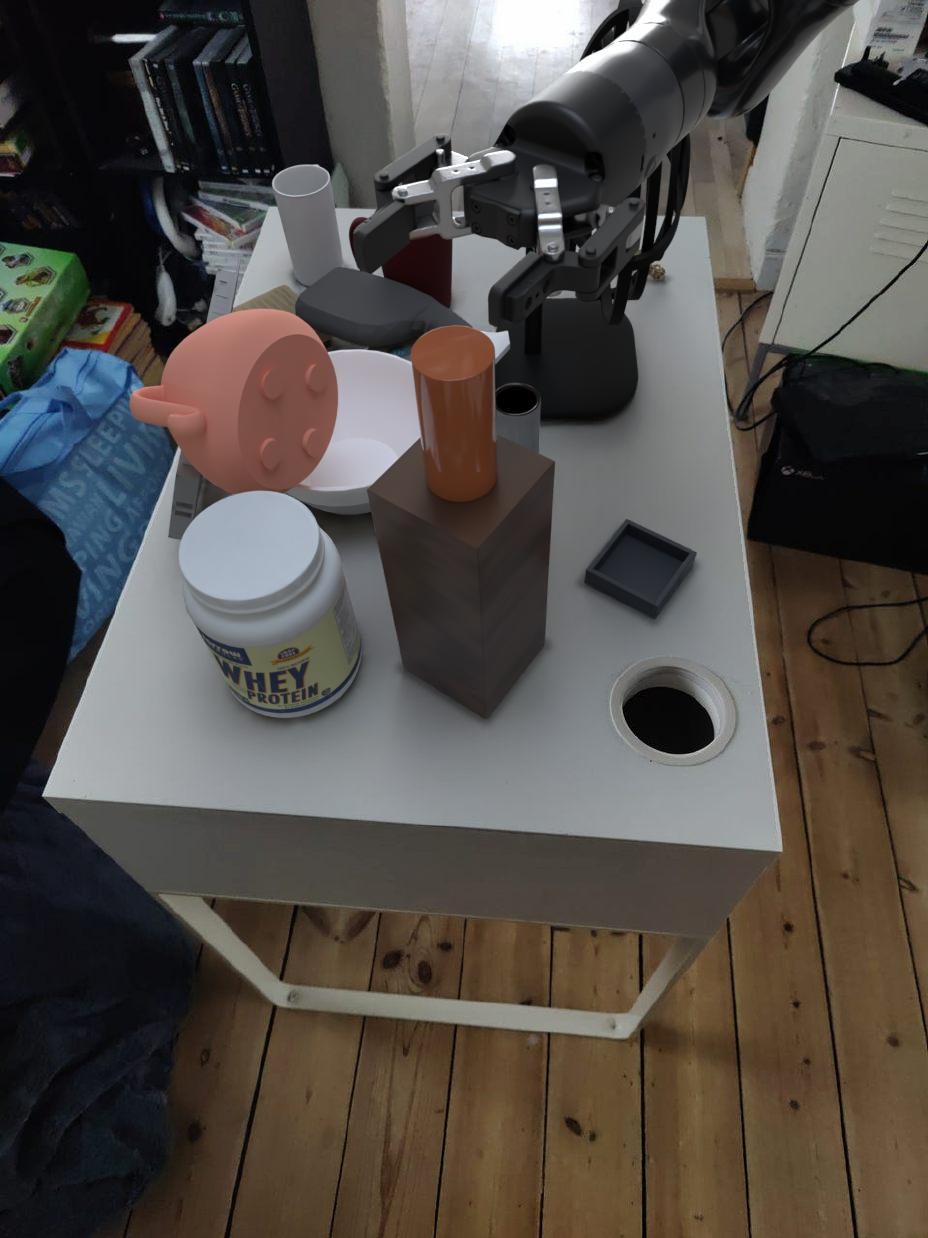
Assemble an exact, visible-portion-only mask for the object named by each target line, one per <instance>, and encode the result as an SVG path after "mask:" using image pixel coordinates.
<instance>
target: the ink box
mask: <svg viewBox="0 0 928 1238" xmlns="http://www.w3.org/2000/svg"><path fill="white" fill-rule="evenodd" d="M298 297H299V295H298V294H297V293H296V292H295V291H293V290H292V288H290V287H289V286H288V285H286V284H281V285H279V286H277V287H274V288H272V289H271V290H268V291H267V292H264V293H262V294H259V295H257V296H255V297H253V298H251V299H249V300H247V301H245V302H243V303H240V304H239V305H236V306H233V311H232V313H233V312H236V311H243V310H250V309H275V310H281V311H286V312H289V313H292V314H294V315H296V314H295V303H296V301H297V299H298ZM312 329H313V328H312ZM313 330H314V331H315V332H316V334H317V335H318V337H319V338H320V340H321V341H322V343H323V345H324V346H325V348H326V350H327V351H329V350H331V349H334V347H335V343H334V337H333V336H331V335H328V334H325V333H323V332H320V331H318V330H315V329H313Z"/></svg>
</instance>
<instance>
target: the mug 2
mask: <svg viewBox="0 0 928 1238" xmlns="http://www.w3.org/2000/svg"><path fill="white" fill-rule="evenodd" d="M377 211H378V209H377V208H376V209H375V211H374V213H375V212H377ZM433 211H434V200H431V201H426V202H424V203H423V204H422V205H420V206H419V207H417V208H416V217H421V216H425V215H430V214H432V213H433ZM374 213H373V214H374ZM366 219H369V217H365V216H358V217H356V218H354V219H353V220H352V222H351V223H350V226H349V229H348V242H349V246H350V250H351V253H352V254H351V255H352V257H353V258H354V261H355V262H354V263H356V258H355V252H354V246H353V232H354V230H355V228H356V227H357V226H359V225H360V224H361V223H362V222H363V223H364V221H365V220H366ZM453 239H454V238H453ZM453 239H448V240H447V239H443V238H442V237H441V235H440V234H433V235H428V236H423V237H419V238H414V239H410V243H409V244H408V245H407V246H405V247H404V248H403V249H402V250H401V251H399V252H398V253H397V254H396V255H394V256H393V257H392V258H391V259H390V260H388V261H387V262H386V263H385V264H383V265H382V266H381V267H380V268H381V271H382V277H385V278H388V279H391V280H393V281H396V282H399V283H402V284H405V285H407V286H410V287H412V288H414V289H416V290H418V291H420V292H423V293H425V294H427V295H429V296H431V297H433V298H434V299H435V300H436V301H438V302H439V303H440V304H442V305H443V306H445V307H447V308H448V309H449V308H450V306H451V304H452V286H453V285H452V284H453V243H454V242H453ZM358 270H359V271H362V270H360V269H358ZM363 272H365V271H363ZM366 273H367V272H366Z"/></svg>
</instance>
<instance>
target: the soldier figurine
mask: <svg viewBox="0 0 928 1238" xmlns="http://www.w3.org/2000/svg"><path fill="white" fill-rule="evenodd" d="M640 246H641V247H642V245H640ZM641 247H640V248H639V250H638V251H637V252H636V253H635V255H639V254H641ZM661 265H662V264H661V263H655V264H654V263H652V264H650V268H649V273H648V277H651V278H652V279H653V280H654V281H658V280H660V279H661V280H662V281H665V280H666V273H667V272H666V269H664V267H662V266H661ZM636 271H637V270H635V271H632V275H633V274H634V273H635V272H636Z"/></svg>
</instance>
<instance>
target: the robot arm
mask: <svg viewBox="0 0 928 1238" xmlns="http://www.w3.org/2000/svg"><path fill="white" fill-rule="evenodd" d="M859 1H861V0H644V2H643V6H642V8H641V11H640V13H639V15H638V17H637V19H636V21H635V22H634V24H633V25H632V26H631V27H630V28H629V27H628V28H627V29H626V31H625V32H624V33H623V34H622V35H620V36H619V37H618V38H616V39H615V40H614V41H613V42H611V43H610V44H609V45H607V46H606V47H605V48H604V49H602V50H600V51H598V52H595V53H592V54H591V55H589V56H587V57H585V58H584V59H582V60H581V61H580V60H579V61H580V62H579V61H578V62H576V63H575V64H574V65H573V66H571V67H570V68H569V69H567V70H566V71H564V73H562V74H561V75H560V76H559V77H557V78H556V79H554V80H552V82H550V83H549V84H548V85H546V86H545V87H544V88H543V89H542V90H540V91H539V92H537V94H535V95H533V97H531V98H530V99H528V100H527V101H526V102H525V103H524V104H522V105H521V106H520V107H518V108H517V109H516V110H515V111H514V112H513V113H512V114H511V115H510V116H509V118H508V119H507V121H506V122H505V124H504V126H503V128H502V130H501V131H500V134H499V135H498V137H497V138H496V141H495V142H494V143H493V145H492V146H490V147H489V148H487V149H484V150H481V151H477V152H474V153H472V154H471V155H469V156H465V155H463V154H460V153H458V152H456V151H453V150H452V148H453V147H452V137H451V135H449V134H448V133H436V134H433V135H431V136H430V137H428V138H427V139H426V140H424V141H423V142H421V143H419V144H418V145H416V146H415V147H413V148H412V149H410V150H409V151H408V152H406V153H404V154H403V155H401V156H400V157H398V158H396V159H395V160H394V161H392V162H391V163H389V164H387V166H385V167H383V168H381V169H380V170H378V171H377V172H376V173H375V174H373V176H372V178H373V186H374V193H375V200H376V207H377V208H376V210H377V209H378V211H377V212H375V211H374V212H375V213H373V214H371V215H370V216H369V217H368V218H369V219H366V220H365V221H364V223H363V222H362V223H361V224H360V225H359V226H357V227H356V228H355V230H354V232H353V246H354V252H355V258H356V262H355V264H356V265H355V266H356V267H357V270H359V269H360V270H362V271H365V272H367V273H369V274H374V273H375V272H376V271H377V270H378V269H380V268H382V267H381V266H382V265H383V264H385V263H386V262H387V261H388V260H390V259H391V258H392V257H393V256H394V255H396V254H397V253H398V252H399V251H401V250H402V249H403V248H404V247H405V246H407V245H408V244H409V243H410V239H414V238H419V237H423V236H428V235H433V234H440V235H441V237H442V238H443V239H447V240H448V239H457V238H462V237H466V236H472V235H476V236H478V237H482V238H487V239H492V240H497V241H498V242H500V243H501V244H502V245H504V246H506V247H508V248H511V249H513V250H515V251H519V250H520V249H521V248H525V249H526V248H533V252H532V251H530V252H529V253H528V254H527V255H526V254H525V255H524V256H523V257H522V258H521V259H520V260H519V261H518V262H517V263H516V264H514V266H512V267H511V268H510V269H508V271H507V272H506V273H505V274H503V276H502V277H501V278H499V279H498V280H497V281H496V282H495V283H494V284H493V285H491V288H490V290H489V292H488V294H487V295H488V296H487V312H488V313H487V315H488V324H489V325H490V326H492V327H494V328H496V329H497V328H499V329H502V330H504V329H505V328H506V327H507V326H508V325H509V324H510V323H511V322H512V323H515V324H516V323H518V322H520V321H522V320H524V319H525V318H526V317H527V316H528V315H530V313H532V312H533V311H534V310H535V308H537V307H538V306H539V305H540V304H541V303H542V302H543V301H544V300H545V299H546V298H555V297H557V296H559V295H561V294H562V293H563V291H566V292H574V294H575V298H577V299H578V300H580V301H583V302H592V301H594V300H596V299H597V298H598V297H599V296H600V295H601V293H602V292H603V291H604V290H605V289H606V288H607V286H608V285H609V284H610V283H612V282H613V281H614V279H615V278H616V277H618V273H619V272H620V271H621V270H622V269H623V268H624V266H625V265H626V264H627V263H628V262H629V260H630V259H631V258H632V257H633V256H634V255H635V253H636V252H637V251H638V250H640V249H641V247H640V246H641V240H642V236H643V229H644V222H645V213H646V201H645V200H644V199H642V198H641V197H640V198H634V197H632V198H627V197H628V196H629V195H630V194H631V193H632V192H633V191H634V190H635V189H636V188H637V187H638V186H639V185H640V184H641V185H642V184H643V183H644V182H645V181H647V178H648V177H649V176H650V175H651V174H652V173H653V171H654V170H655V169H656V168H657V167H658V165H659V164H660V163H661V161H662V162H663V160H664V158H665V157H666V156H667V155H666V154H667V153H668V152H669V151H670V150H671V149H672V148H673V147H674V146H675V145H676V144H677V143H678V142H680V141H681V140H682V139H683V138H684V137H685V136H686V135H687V134H688V133H691V132H692V131H694V129H695V128H696V127H697V126H698V125H699V124H700V123H701V122H702V121H703V119H704V118H705V117H707V118H709V119H713V120H718V121H727V120H732V119H733V120H734V119H736V118H739V117H742V116H743V115H745V114H747V113H749V112H750V111H752V110H753V109H754V108H755V107H757V106H758V105H759V104H760V103H761V102H763V101H764V100H765V98H767V96H768V95H769V94H770V93H771V92H772V91H773V90H774V89H775V88H776V87H777V86H778V84H780V82H781V81H782V79H783V78H784V77H785V76H786V75H787V73H788V72H789V71H790V69H791V68H792V67H793V66H794V64H795V63H796V62H797V60H798V59H799V58H800V56H801V55H802V54H803V53H804V51H805V50H806V49H807V48H808V47H809V46H810V45H811V43H812V42H813V41H814V40H815V39H816V38H817V37H818V36H819V35H820V34H821V33H822V31H824V30H825V29H826V28H827V27H828V26H829V25H830V24H832V23H833V22H834V21H835V20H836V19H837V18H838V17H840V16H841V15H842V14H843V13H845V12H846V11H847V10H848V9H849V8H851V7H852V6H854V5H855V4H857V3H858V2H859ZM400 184H401V185H400ZM459 187H462V197H463V201H462V202H463V214H462V215H457V216H454V213H453V196H452V195H453V192H455V191H454V190H456V189H458V188H459ZM626 198H627V199H626ZM431 200H434V211H433V213H432V214H430V215H425V216H421V217H416V208H417V207H419V206H420V205H422V204H423V203H424V202H426V201H431ZM622 201H623V202H622ZM621 202H622V203H621ZM620 203H621V204H620ZM594 230H595V231H594ZM593 231H594V232H593ZM590 232H592V236H591V237H590V238H589V239H588V240H587V241H586V242H585V243H584V245H583V246H582V247H581V248H579V249H578V251H576V252H572V251H565V243H564V240H567V239H571V238H575V237H579V236H584V235H587V234H589V233H590ZM360 270H359V271H360Z"/></svg>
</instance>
